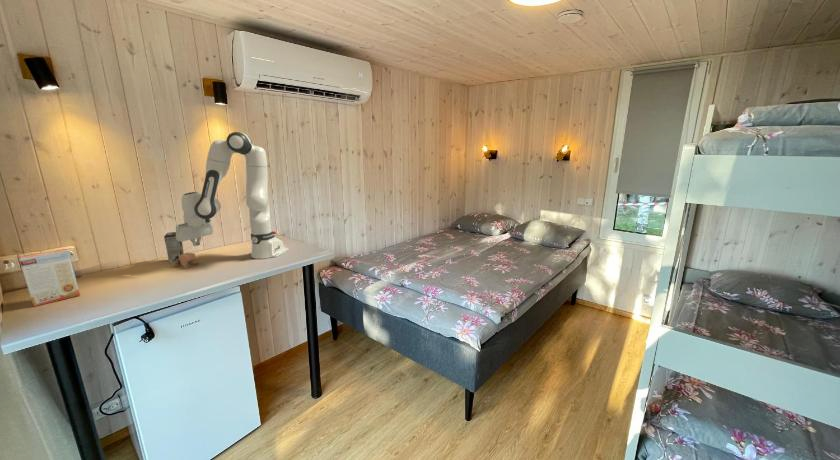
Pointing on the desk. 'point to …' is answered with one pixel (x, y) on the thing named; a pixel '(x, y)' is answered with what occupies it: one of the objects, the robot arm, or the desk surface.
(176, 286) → the desk surface
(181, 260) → the block
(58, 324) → the desk surface
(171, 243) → the coffee box
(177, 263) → the chute
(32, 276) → the cracker box
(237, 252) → the desk surface
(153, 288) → the desk surface
